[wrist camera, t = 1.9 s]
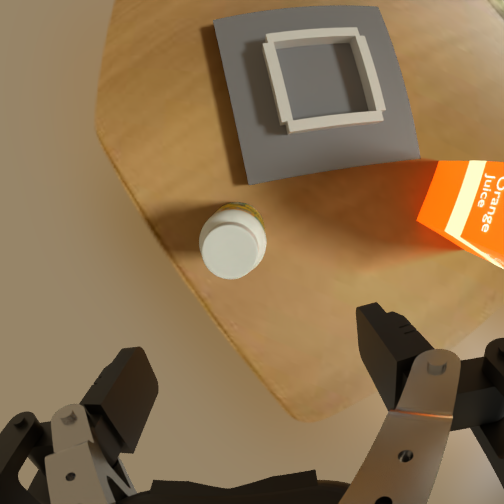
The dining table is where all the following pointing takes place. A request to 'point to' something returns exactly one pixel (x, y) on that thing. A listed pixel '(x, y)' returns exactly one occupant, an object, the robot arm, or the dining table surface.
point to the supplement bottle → (233, 240)
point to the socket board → (315, 90)
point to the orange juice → (468, 207)
